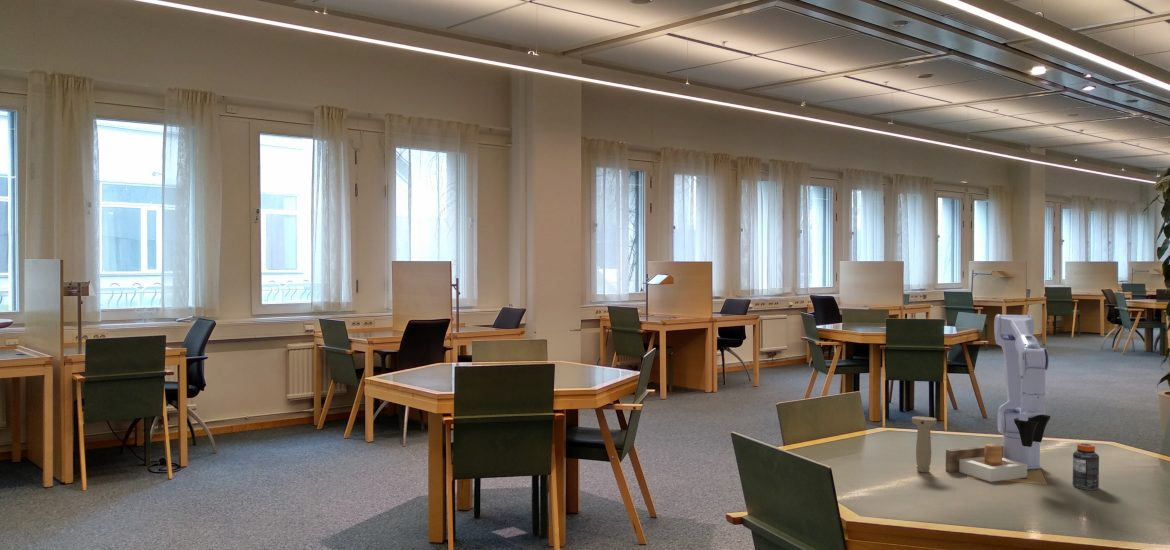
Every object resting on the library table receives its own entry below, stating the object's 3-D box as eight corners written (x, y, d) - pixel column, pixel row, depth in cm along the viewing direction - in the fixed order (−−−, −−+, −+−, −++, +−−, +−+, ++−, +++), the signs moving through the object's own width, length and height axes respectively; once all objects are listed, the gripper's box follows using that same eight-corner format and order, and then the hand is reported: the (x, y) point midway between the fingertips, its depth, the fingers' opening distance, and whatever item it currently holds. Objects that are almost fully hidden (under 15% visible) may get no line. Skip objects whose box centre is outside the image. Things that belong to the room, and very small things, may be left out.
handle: (933, 475, 236) (934, 421, 236) (909, 471, 240) (910, 418, 239) (937, 471, 240) (937, 418, 240) (913, 468, 244) (913, 415, 243)
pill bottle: (1095, 485, 226) (1096, 442, 226) (1101, 491, 221) (1102, 447, 221) (1070, 483, 228) (1071, 441, 228) (1074, 488, 223) (1075, 445, 222)
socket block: (994, 467, 244) (995, 455, 244) (1026, 477, 234) (1027, 464, 234) (959, 471, 240) (959, 459, 240) (990, 481, 229) (990, 468, 229)
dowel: (1005, 475, 236) (1006, 446, 235) (993, 477, 234) (993, 448, 234) (992, 471, 240) (993, 443, 240) (980, 473, 238) (981, 444, 238)
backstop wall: (997, 465, 247) (997, 444, 247) (1003, 466, 245) (1003, 445, 245) (945, 470, 241) (945, 449, 241) (950, 472, 239) (951, 451, 239)
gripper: (1026, 388, 236) (1025, 437, 236) (1007, 394, 226) (1006, 445, 226) (1054, 391, 231) (1053, 441, 231) (1035, 398, 221) (1034, 450, 221)
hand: (1031, 444), depth 228 cm, fingers open, 7 cm apart
